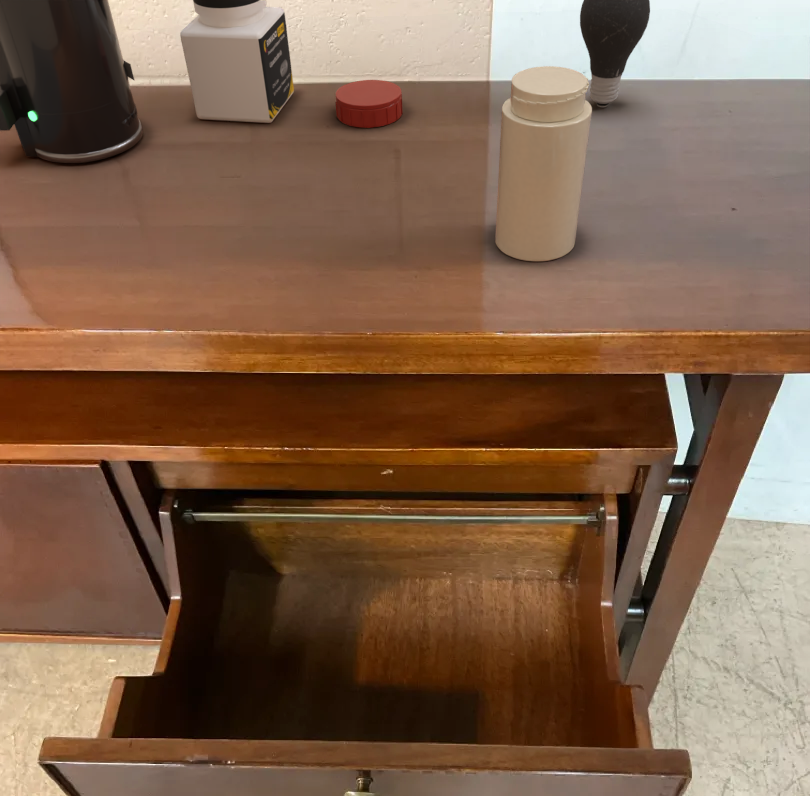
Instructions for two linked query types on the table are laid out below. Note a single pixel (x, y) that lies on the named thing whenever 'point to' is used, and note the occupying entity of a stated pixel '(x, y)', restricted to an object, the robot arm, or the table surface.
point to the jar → (542, 163)
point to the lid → (369, 103)
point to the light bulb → (611, 41)
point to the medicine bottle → (238, 60)
